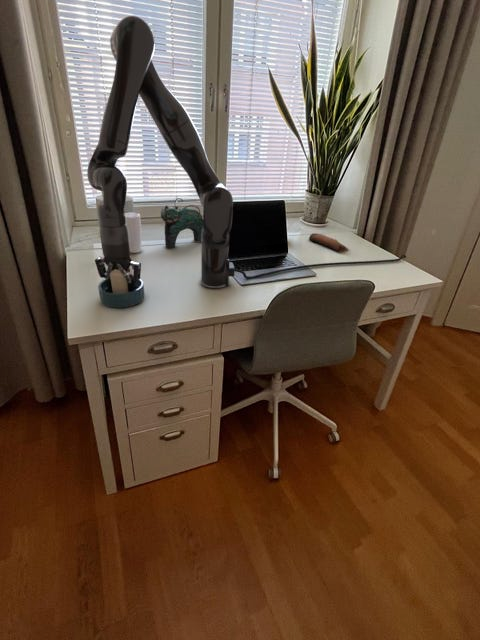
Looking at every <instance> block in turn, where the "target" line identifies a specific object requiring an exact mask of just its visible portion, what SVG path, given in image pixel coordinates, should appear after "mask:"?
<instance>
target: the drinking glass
mask: <svg viewBox="0 0 480 640" xmlns="http://www.w3.org/2000/svg"><path fill="white" fill-rule="evenodd" d="M125 220H126V227H127V231H128V238H129V247H130V254H138V253H141V252H142V251H143V248H142V219H141V214H140V213H138V212H125Z"/></svg>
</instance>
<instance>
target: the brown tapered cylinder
mask: <svg viewBox="0 0 480 640" xmlns="http://www.w3.org/2000/svg"><path fill="white" fill-rule="evenodd" d="M308 240H309V241H310V242H311V241H312V242H316V243H319V244H321V245H323V246H326V247H328V248H330V249H333V250H334V251H337V252H338V253H342V252H346V251H348V250H349V249H348V247H346V245H344V244H342V243H341V242H339V241H338V240H337V239H336V238H334V237H333V238H332V237H329V236H327V235H325V234H321V233H315V232H314V233H311V234H310V235H309V237H308Z"/></svg>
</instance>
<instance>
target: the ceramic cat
mask: <svg viewBox="0 0 480 640" xmlns="http://www.w3.org/2000/svg"><path fill="white" fill-rule="evenodd" d="M178 200H180V201H182V202H184V200H183V199H182V198H180V197H178V198H176V199H174V203H176V202H177V201H178ZM193 207H194V208H193ZM195 208H197V209H198V210H197V209H195ZM160 218H161V220H162V221H163V222H164V243H165V247H166V248H168V249H173V248H176V242H177V239H178V236H179V235H180V232H183V231H184V230H190V231H191V232H192V235H193V241H194V242H195V243H201V229H202V226H203V215H202V214H201V210H200V208H199V207H198V206H197V205H195V204H190V205H189V204H188V205H186V206H184V207H180V208H179V206H176V205H174V207H173V206H170V205H167V204H166V205H165V206H164V207H162V208H161V210H160Z"/></svg>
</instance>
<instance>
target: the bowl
mask: <svg viewBox="0 0 480 640" xmlns="http://www.w3.org/2000/svg"><path fill="white" fill-rule="evenodd" d="M97 289H98V295H99V300H100V302H101V303H102V304H103V305H104V306H107V307H109V308H110V307H111V308H119V309H121V308H122V309H123V308H129V307H132V306H135V305H137V304H139V303H141V302H142V301H143V300H145V286H144V281H143V280H142V278H140V279H139V280H138V281H137V282H136V283H135V290H134V291H132V292H128V293H122V294H114V293H113V291H110V290H109V289H108V285H107V280H106V279H105V278H104V279H103V280H102V281H100V282H99V283H98V285H97Z"/></svg>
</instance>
